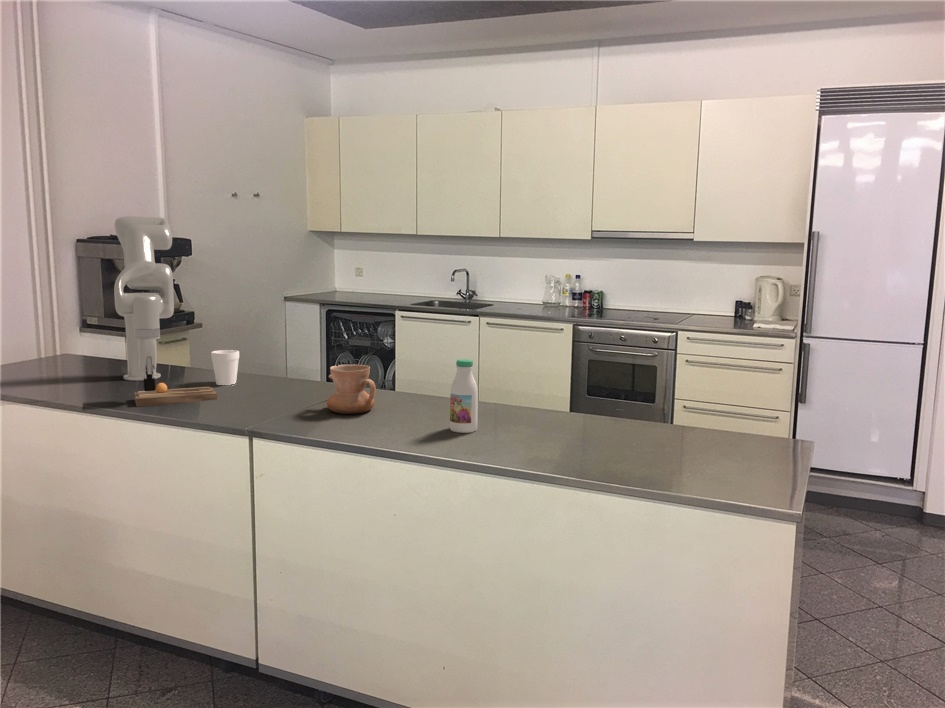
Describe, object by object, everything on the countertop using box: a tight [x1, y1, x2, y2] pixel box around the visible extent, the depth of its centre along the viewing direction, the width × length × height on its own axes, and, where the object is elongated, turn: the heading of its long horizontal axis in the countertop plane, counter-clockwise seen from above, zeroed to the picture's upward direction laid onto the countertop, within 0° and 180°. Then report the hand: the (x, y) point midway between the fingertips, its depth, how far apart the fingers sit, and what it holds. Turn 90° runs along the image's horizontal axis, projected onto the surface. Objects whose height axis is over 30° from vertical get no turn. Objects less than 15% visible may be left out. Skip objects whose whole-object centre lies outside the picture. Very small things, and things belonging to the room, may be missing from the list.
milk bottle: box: [449, 358, 479, 434], centre depth 203 cm, size 8×8×20 cm
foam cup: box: [210, 349, 240, 386], centre depth 260 cm, size 10×9×13 cm
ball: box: [155, 382, 168, 393], centre depth 235 cm, size 4×4×4 cm
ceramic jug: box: [326, 364, 376, 415], centre depth 223 cm, size 18×14×14 cm
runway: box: [134, 386, 218, 408], centre depth 237 cm, size 12×24×3 cm, turn 117°
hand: (149, 390), depth 234 cm, fingers closed
